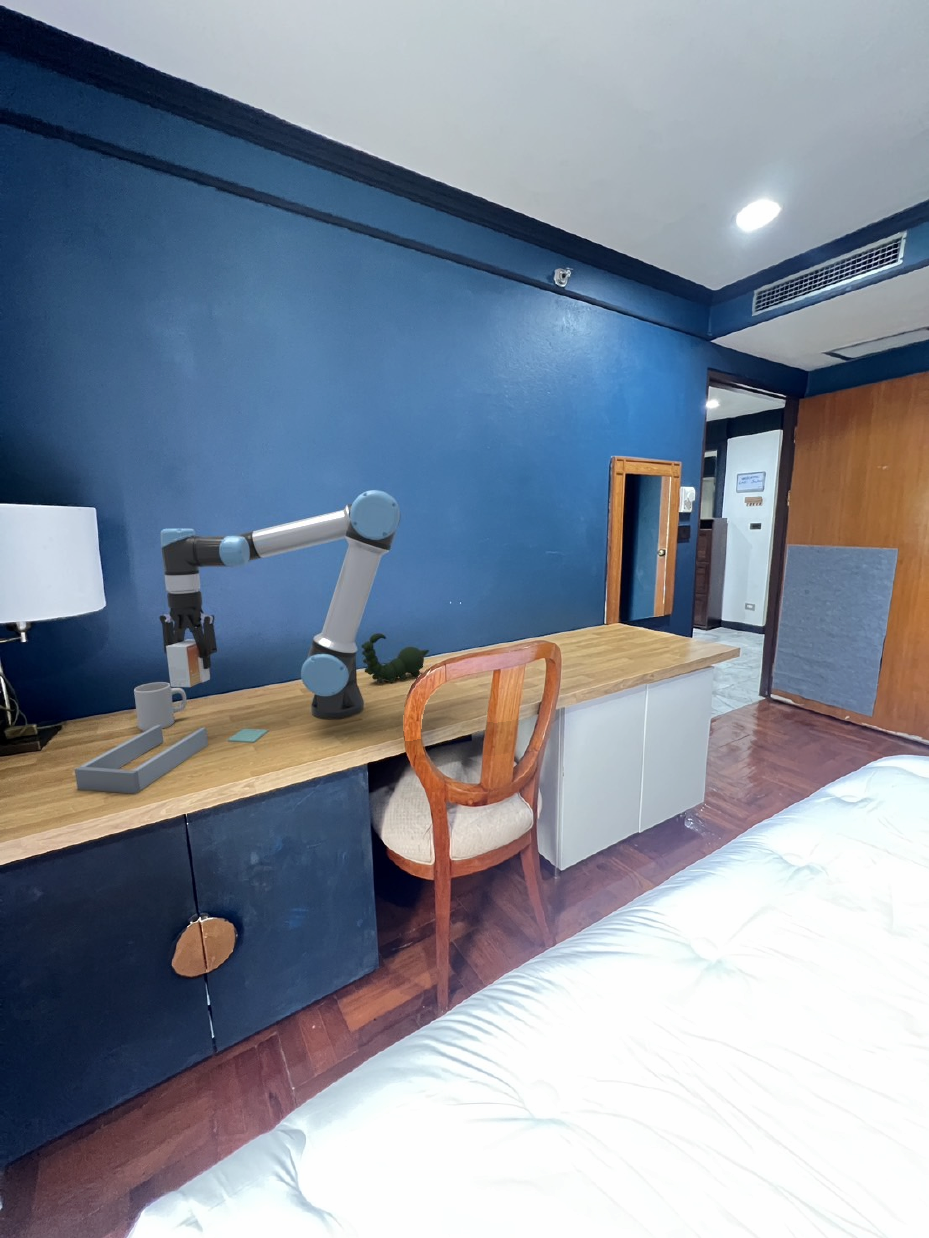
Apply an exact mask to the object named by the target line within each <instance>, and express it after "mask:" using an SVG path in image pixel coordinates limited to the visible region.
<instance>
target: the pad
mask: <svg viewBox="0 0 929 1238" xmlns="http://www.w3.org/2000/svg"><path fill="white" fill-rule="evenodd" d="M268 732H269V730H268V729H255V728H253V729H252V728H243V729H241V730H239V731H238V732H237V733H235V734H234V735H233V736H230V738H228V739H227V741H228V742H233V743H249V744H250V743H251V744H254V743H256V742H257V741H258V740H259V739H260V738H262V737H263V736H265V735H266V734H267V733H268Z"/></svg>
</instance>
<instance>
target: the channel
mask: <svg viewBox="0 0 929 1238" xmlns="http://www.w3.org/2000/svg"><path fill="white" fill-rule="evenodd" d="M163 743H164V735H163V729H162V725H156V726H154V727H152V728H150V729H149V730H147V731H142V732H141V733H139V734H137V735H136V736H134V737H131V738H129V739H128V740H127V741H124V742H123V743H121V744H119V745H116V746H115V747H113V748H112V749H109V750H108V751H105V752H104V753H102V754H100V755H99V756H98V755H97V757H94V758H93V759H91V760H89V761H87V762H85V763H84V764H81V765H80V766H78V767H76V768H74V774H75V780H76V782H75V783H76V787H77V790H82V791H96V792H108V793H120V794H121V793H122V794H135V795H136V794H137V793H140V792H141V791H142V790H144V789H145V788H146V787H148V786H149V785H151V784H152V783H154V782H155V781H156V780H158V779H159V778H161V777H163V776H164V775H165V774H167V773H168V772H170V771H172V770H173V769H174V768H176V767H177V766H179V765H181V763H183V762H185V761H186V760H188V759H189V758H191V757H192V756H194V755H195V754H197V753H198V752H200V751H201V750H202V749H203V748H206V747H207V746H208V745H209V743H208V731H207V727H200V728H199V729H197V730H196V731H194V732H192V733H190V734H188V736H185V737H184V738H183V739H180V740H178V741H177V742H176V743H174V744H173V745H171V746H169V747H167V748H166V749H164V750H162V751H161V752H160V753H158V754H156V755H154V756H153V757H152V758H150V759H148V760H147V761H145V762H143V763H142V764H140V765H138V766H136V767H135V768H134V769H132V770H131V769H120V768H122V767H123V766H126V765H127V764H129V763H130V762H132V761H134V760H136V759H137V758H139V757H140V756H142V755H144V754H146V753H147V752H149V751H151V750H152V749H154V748H156V747H157V746H159V745H161V744H163Z"/></svg>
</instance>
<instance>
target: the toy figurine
mask: <svg viewBox="0 0 929 1238" xmlns="http://www.w3.org/2000/svg"><path fill="white" fill-rule="evenodd" d="M380 639H382V640H383V639H384V640H386V639H387V637H386V635H384V634H383V633H379V632H377V633H374V634H372V635H371V636H370V638H369V641H364V643H363V644H362V645H361V648H362V649H363V650H362V652H361V654H362V655H363V656H364V658H365V659H362V662H363V664H366V666H367V667H366V668H364V673H365V674H368V675H369V676H372V679H373V680H375V681H377V682H378V683H382V682H383V681H385V682H386V681H387V682H389V684H394V683H395V679H396V678H399V679H400V680H401V681H404V680H406V679H407V674H409V675H410V676H411V675H412V677H413V676H415V677H416V678H417V677H418V675H419V676H420V673H421V672H420V671H421V669H423V668H424V662H425V656H426V655H427V654H428V653H429V652H430V649H421V650H420V649H419V648H418V647H415V646H407V647H404V648H403V649H402V650H401V651H399V653H398V654H397V657H395V658H394V659H391V660H390V662H388V663H384V664H382V663H380V661H379V657H378V656H377V655H376V649H375V648H374V647H375V646H374V644H375V643H377V642H378V641H379V640H380ZM415 677H414V678H415Z"/></svg>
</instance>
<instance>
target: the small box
mask: <svg viewBox="0 0 929 1238" xmlns="http://www.w3.org/2000/svg"><path fill="white" fill-rule="evenodd" d="M166 650H167V654H166V657H167V664H168V674H169V675H168V676H169V684H170V686H171V688H191V687H194V686H196V685H198V684H200V683H202V682H201V681H200V672H199V663H198V657H199V656H201V655H200V652H199V650H198V647H197V644H196V642H195V639H194V638H193V639H191V638H188V639H184V641H182V642H179V643H176V644H173V645H169V646H166ZM209 674H210V670H209ZM210 675H211V674H210Z"/></svg>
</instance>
